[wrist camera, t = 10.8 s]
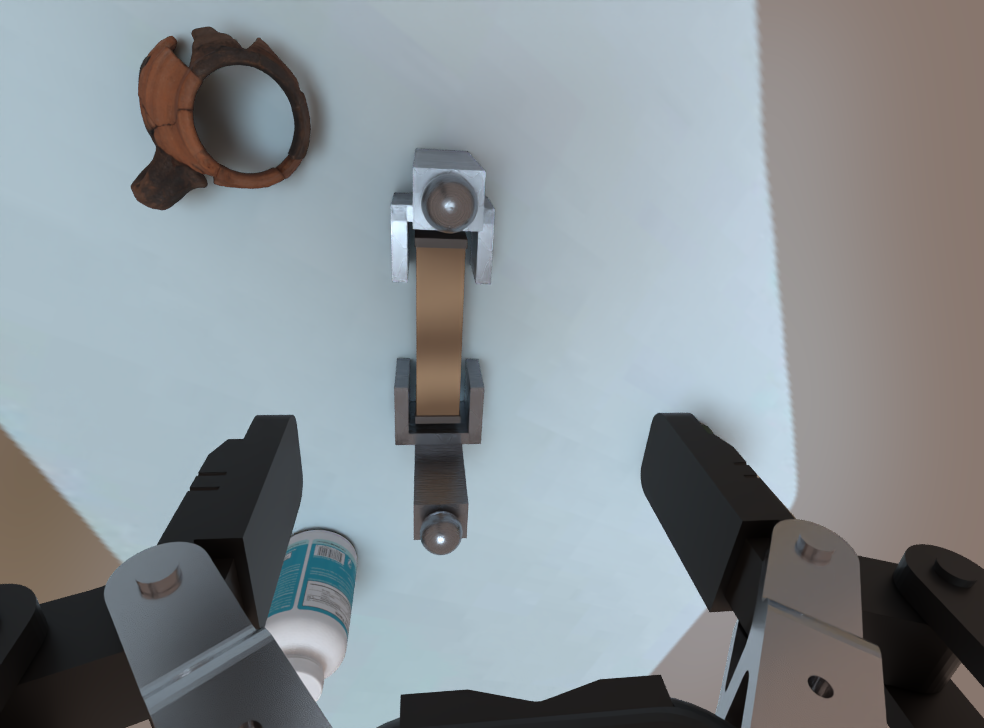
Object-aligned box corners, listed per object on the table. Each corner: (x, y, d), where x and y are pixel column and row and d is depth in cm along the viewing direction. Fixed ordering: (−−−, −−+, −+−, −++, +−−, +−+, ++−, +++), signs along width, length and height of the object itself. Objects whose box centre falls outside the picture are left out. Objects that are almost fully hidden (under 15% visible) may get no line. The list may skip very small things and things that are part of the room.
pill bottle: (286, 586, 53) (246, 729, 41) (272, 529, 50) (223, 665, 38) (363, 579, 54) (346, 717, 42) (354, 522, 51) (332, 653, 39)
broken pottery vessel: (180, -15, 32) (215, -17, 27) (308, 100, 39) (356, 117, 34) (69, 151, 33) (80, 183, 27) (216, 236, 40) (248, 274, 34)
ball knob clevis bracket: (393, 147, 37) (377, 171, 24) (489, 152, 38) (523, 178, 25) (398, 441, 47) (389, 568, 34) (473, 440, 48) (492, 563, 35)
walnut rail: (415, 221, 39) (414, 237, 35) (462, 223, 40) (467, 239, 35) (416, 390, 45) (415, 423, 41) (456, 390, 46) (460, 423, 41)
